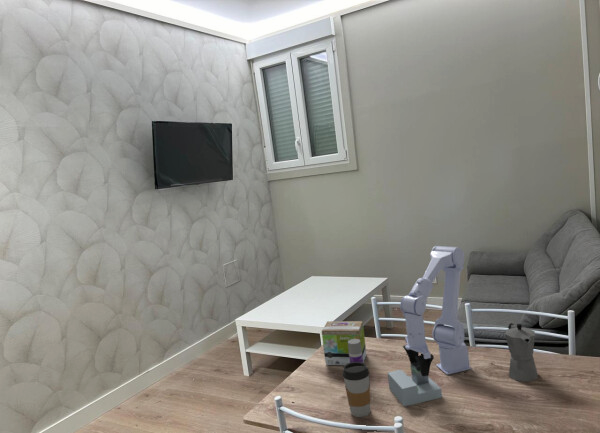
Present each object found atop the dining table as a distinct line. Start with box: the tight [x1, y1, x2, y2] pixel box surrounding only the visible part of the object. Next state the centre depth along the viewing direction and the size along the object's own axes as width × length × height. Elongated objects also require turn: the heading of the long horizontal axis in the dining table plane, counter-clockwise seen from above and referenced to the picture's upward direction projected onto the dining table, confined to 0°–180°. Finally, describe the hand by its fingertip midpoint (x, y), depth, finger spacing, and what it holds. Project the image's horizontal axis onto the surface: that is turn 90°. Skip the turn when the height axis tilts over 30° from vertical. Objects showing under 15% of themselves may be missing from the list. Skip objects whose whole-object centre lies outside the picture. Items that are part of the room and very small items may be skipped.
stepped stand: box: [387, 369, 443, 407], centre depth 151 cm, size 13×12×6 cm
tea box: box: [321, 320, 367, 366], centre depth 182 cm, size 15×10×15 cm, turn 73°
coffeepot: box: [504, 322, 539, 383], centre depth 154 cm, size 15×9×18 cm, turn 176°
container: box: [348, 339, 363, 363], centre depth 164 cm, size 5×5×15 cm
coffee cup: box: [342, 362, 372, 418], centre depth 144 cm, size 8×8×15 cm
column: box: [410, 362, 429, 385], centre depth 152 cm, size 4×4×6 cm
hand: (420, 370), depth 152 cm, fingers open, 7 cm apart
